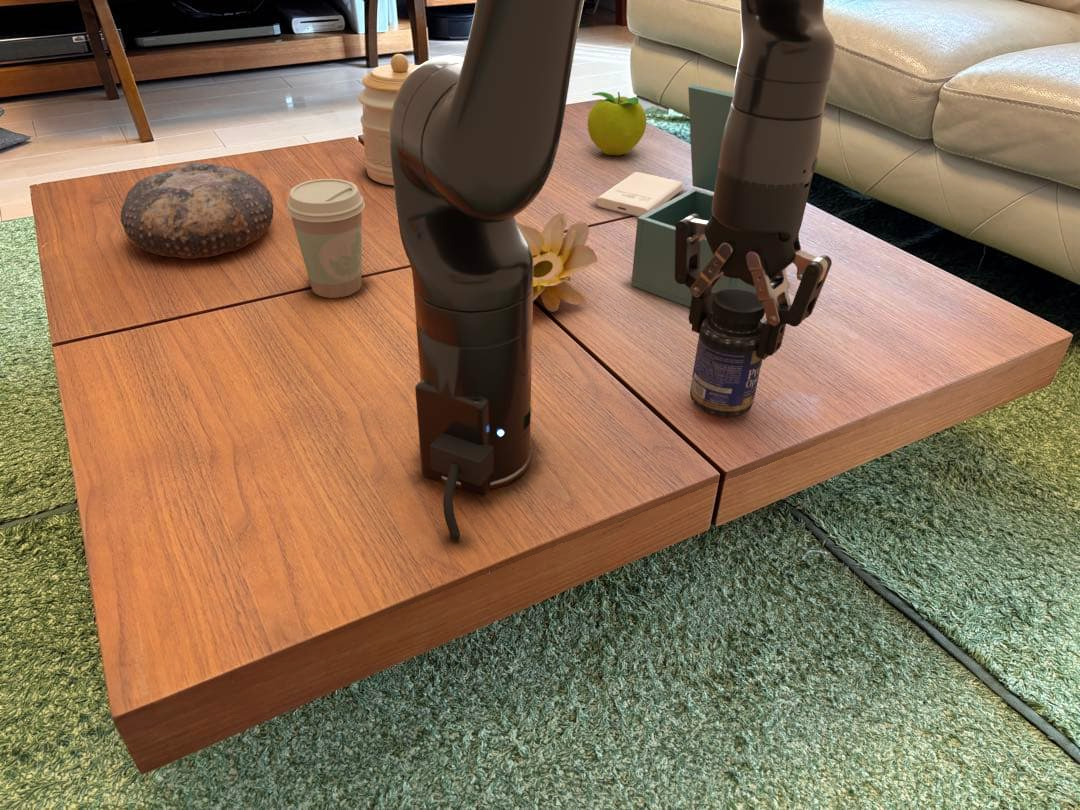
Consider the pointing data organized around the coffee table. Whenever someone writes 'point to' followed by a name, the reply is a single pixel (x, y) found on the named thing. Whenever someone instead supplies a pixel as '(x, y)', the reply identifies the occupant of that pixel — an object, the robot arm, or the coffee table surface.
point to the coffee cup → (329, 234)
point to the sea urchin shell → (196, 211)
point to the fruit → (616, 123)
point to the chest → (672, 248)
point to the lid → (707, 132)
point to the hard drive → (639, 194)
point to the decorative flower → (558, 259)
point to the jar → (381, 115)
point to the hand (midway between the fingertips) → (732, 341)
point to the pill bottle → (728, 354)
